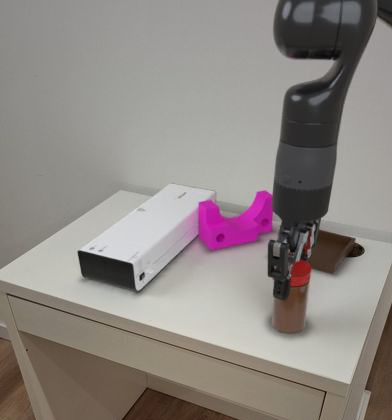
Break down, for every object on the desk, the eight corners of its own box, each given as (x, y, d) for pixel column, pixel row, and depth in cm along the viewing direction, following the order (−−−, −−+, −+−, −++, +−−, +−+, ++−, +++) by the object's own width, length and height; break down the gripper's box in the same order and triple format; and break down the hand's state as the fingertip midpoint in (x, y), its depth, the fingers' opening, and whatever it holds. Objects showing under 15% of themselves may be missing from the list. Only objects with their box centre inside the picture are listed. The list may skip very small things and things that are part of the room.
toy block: (211, 250, 95) (211, 214, 90) (198, 237, 99) (198, 202, 94) (277, 236, 99) (281, 201, 94) (262, 224, 104) (265, 190, 99)
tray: (296, 232, 101) (297, 224, 99) (354, 246, 96) (356, 238, 94) (272, 257, 93) (273, 248, 91) (333, 274, 88) (335, 265, 86)
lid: (316, 272, 72) (317, 263, 71) (301, 290, 68) (303, 281, 67) (280, 263, 74) (281, 254, 73) (264, 279, 70) (265, 270, 69)
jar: (266, 318, 77) (268, 267, 72) (295, 312, 79) (300, 261, 73) (280, 336, 73) (284, 283, 68) (311, 328, 75) (317, 276, 69)
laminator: (171, 209, 110) (170, 182, 106) (220, 219, 106) (221, 191, 102) (82, 281, 86) (76, 250, 82) (141, 297, 82) (138, 265, 78)
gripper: (310, 201, 55) (293, 319, 66) (349, 164, 65) (329, 273, 76) (252, 189, 59) (244, 304, 69) (297, 155, 68) (285, 261, 79)
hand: (289, 287), depth 72 cm, fingers closed on lid, 5 cm apart
